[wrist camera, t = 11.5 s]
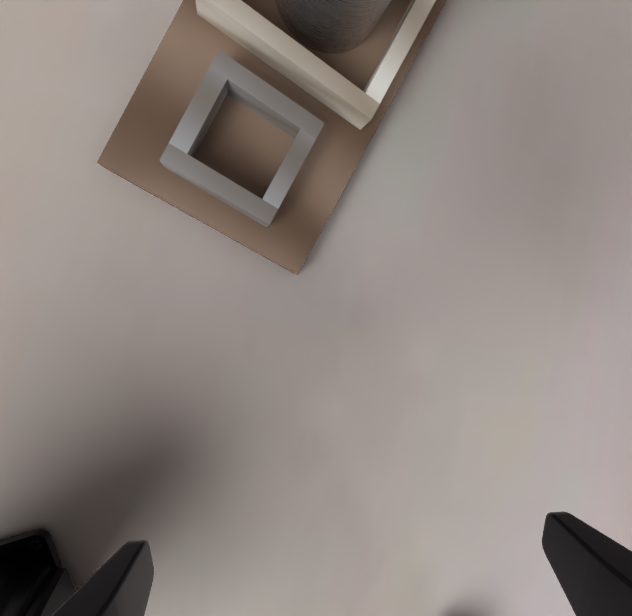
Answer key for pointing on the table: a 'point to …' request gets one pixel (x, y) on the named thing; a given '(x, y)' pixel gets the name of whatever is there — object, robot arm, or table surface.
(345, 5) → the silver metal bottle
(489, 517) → the table surface
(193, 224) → the table surface
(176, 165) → the socket board
